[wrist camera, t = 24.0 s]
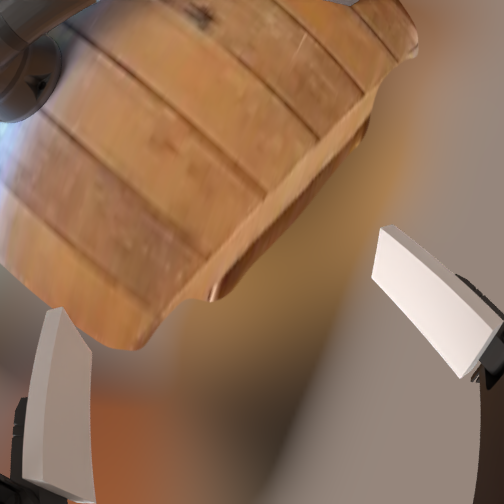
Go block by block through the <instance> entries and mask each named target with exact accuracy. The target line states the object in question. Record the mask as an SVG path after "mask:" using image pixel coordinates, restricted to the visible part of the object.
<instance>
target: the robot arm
mask: <svg viewBox="0 0 504 504" xmlns="http://www.w3.org/2000/svg"><path fill="white" fill-rule="evenodd" d="M99 1H100V0H0V122H4V123H16V122H19V121H22V120H24V119H26V118H28V117H30V116H31V115H32V114H34V113H35V112H36V111H37V110H38V109H39V108H40V107H41V106H42V105H43V104H44V103H45V102H46V100H47V99H48V98H49V96H50V95H51V93H52V91H53V89H54V88H55V85H56V83H57V81H58V78H59V75H60V70H61V52H60V49H59V47H58V45H57V43H56V42H55V41H54V40H53V39H52V38H51V37H50V36H49V35H47V34H46V33H47V32H49V31H50V30H52V29H53V28H55V27H56V26H58V25H59V24H61V23H62V22H64V21H65V20H67V19H68V18H70V17H72V16H73V15H75V14H76V13H78V12H80V11H82V10H83V9H85V8H87V7H88V6H90V5H92V4H96V3H97V2H99ZM371 278H372V279H373V280H374V281H375V282H376V283H377V284H378V285H379V286H380V287H381V288H382V289H383V290H384V292H385V293H386V294H387V295H388V296H389V297H390V298H391V299H392V300H393V301H394V302H395V304H396V305H397V306H398V307H399V308H400V309H401V310H402V311H403V312H404V313H405V315H406V316H407V317H408V318H409V319H410V320H411V321H412V322H413V324H414V325H415V326H416V327H417V328H418V329H419V330H420V332H421V333H422V334H423V335H424V336H425V337H426V338H427V340H428V341H429V342H430V343H431V344H432V346H433V347H434V348H435V349H436V350H437V351H438V353H439V354H440V355H441V356H442V357H443V359H444V360H445V361H446V362H447V364H448V365H449V366H450V367H451V368H452V369H453V371H454V372H455V373H456V374H457V376H458V377H459V378H460V379H461V378H462V377H463V376H465V375H466V374H467V373H468V372H470V371H471V370H472V369H473V367H474V366H475V365H476V363H477V362H478V360H479V361H480V362H481V364H480V366H479V367H478V368H477V370H476V371H475V372H474V374H473V375H472V377H471V382H473V381H474V380H475V379H476V377H477V376H478V375H479V377H478V378H477V380H476V382H477V383H480V401H481V429H480V431H481V432H480V451H479V463H478V473H477V481H476V488H475V495H474V500H473V504H504V314H503V313H502V312H501V311H500V310H499V309H498V308H497V307H496V306H495V305H494V304H493V303H492V302H490V300H489V299H488V298H487V297H485V296H483V295H482V293H481V292H480V291H479V290H478V289H476V288H475V286H474V285H472V284H471V283H470V282H469V281H468V280H467V279H465V278H463V277H461V276H459V275H457V274H453V273H452V272H451V271H450V270H449V269H448V268H447V267H445V266H444V265H443V264H442V263H441V262H440V261H438V260H437V259H436V258H435V257H434V256H432V255H431V254H430V253H429V252H427V251H426V250H425V249H424V248H423V247H421V246H420V245H419V244H418V243H416V242H415V241H414V240H413V239H411V238H410V237H409V236H408V235H406V234H405V233H404V232H402V231H401V230H399V228H397V227H396V226H395V225H389V226H385V227H381V228H380V233H379V239H378V246H377V251H376V256H375V262H374V267H373V272H372V277H371ZM91 364H92V352H91V350H90V349H89V348H88V346H87V345H86V343H85V342H84V340H83V339H82V337H81V336H80V334H79V333H78V331H77V329H76V328H75V326H74V325H73V323H72V321H71V320H70V318H69V316H68V315H67V313H66V311H65V310H64V308H63V307H59V308H55V309H51V310H47V312H46V316H45V320H44V323H43V327H42V331H41V335H40V339H39V343H38V348H37V352H36V356H35V361H34V366H33V371H32V377H31V382H30V388H29V395H28V397H26V398H21V400H20V402H19V404H18V406H17V408H16V410H15V419H14V425H15V426H14V427H13V438H12V450H11V473H10V479H9V478H7V477H6V476H4V475H2V474H0V504H68V502H67V499H69V500H71V501H74V502H76V503H96V498H95V491H94V481H93V471H92V458H91V439H90V384H91V382H90V381H91Z"/></svg>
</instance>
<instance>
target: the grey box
mask: <svg viewBox="0 0 504 504" xmlns="http://www.w3.org/2000/svg"><path fill="white" fill-rule="evenodd" d="M325 1H330V2H335V3H339V4H344V5H348V6H351V5H353V4H354V3H356V2H357V1H359V0H325Z"/></svg>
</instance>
